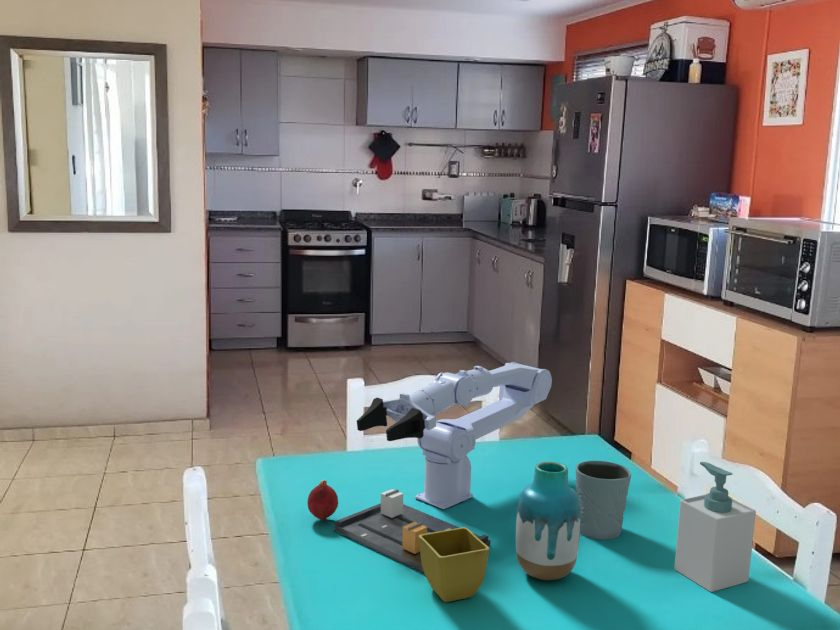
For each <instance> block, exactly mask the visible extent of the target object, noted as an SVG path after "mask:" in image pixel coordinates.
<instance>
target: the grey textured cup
mask: <svg viewBox="0 0 840 630" xmlns="http://www.w3.org/2000/svg"><path fill="white" fill-rule="evenodd" d="M631 478H632V472H631V470H630V469H629V468H627V467H626V466H624V465H622V464H619V463H615V462H613V461H606V460H586V461H582V462H579V463H578V464H576V465H575V491H576V492H577V494H578V496H579V499H580V506H581V527H580V535H582V536H583V537H586V538H589V539H594V540H600V541H601V540H603V541H604V540H612V539H617V538H618V537H620V536H621V533H622V531H623V529H622V528H623V522H624V512H625V511H626V505H627V497H628V493H629V487H630V484H631Z"/></svg>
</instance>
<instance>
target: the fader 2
mask: <svg viewBox="0 0 840 630" xmlns="http://www.w3.org/2000/svg"><path fill="white" fill-rule="evenodd" d="M421 534H427V527H426V526H424V525H422V522H419V523H417V522H413V523H410V524H408V525H406V526H403V540H402V548H403V549H405V550H407V551H410V552H412V553H414V554H416V553H418V552H420V544H419V535H421Z"/></svg>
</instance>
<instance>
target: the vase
mask: <svg viewBox="0 0 840 630" xmlns="http://www.w3.org/2000/svg"><path fill="white" fill-rule="evenodd" d="M533 474H534V475H533V481H532V483H529V484H527V485H525V487H523V488H522V490H521V491H520V493H519V497H518V503H517V509H516V510H517V511H516V521H515V522H516V523H515V551H516V553H515V554H516V558H517V561H518V562H517V563H518V564H519V566H520V567H521V569H522V570H523V571H524V573H526V574H527V575H529V576H531V577H533V578H535V579H539V580H543V581H556V580H561V579H563V578H565V577H567V576H568V575H569V574H570V573H572V572H571V571H572V570H574V567H575V565H576V562H577V559H578V554H579V547H580V540H581V534H580V527H581V506H580V499H579V496H578V494H577V492H576V489H574V488H572V486H571V487H570V486H569V469H568V467H567V466H566V465H565V464H562V463H560V462H557V461H542V462H538V463H537V464H536V465H535V466H534V473H533Z"/></svg>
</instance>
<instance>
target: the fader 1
mask: <svg viewBox="0 0 840 630" xmlns="http://www.w3.org/2000/svg"><path fill="white" fill-rule="evenodd" d="M380 503H381V513H382V514H384V515H386V516H388V517H391V518H393V517H395V516H398V515H400V514H402V513H403V504H404V493H403V492H400V490H399V489H398V488H397V489H393V488H391V489H389V490H386V491H384V492H381V493H380Z"/></svg>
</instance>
